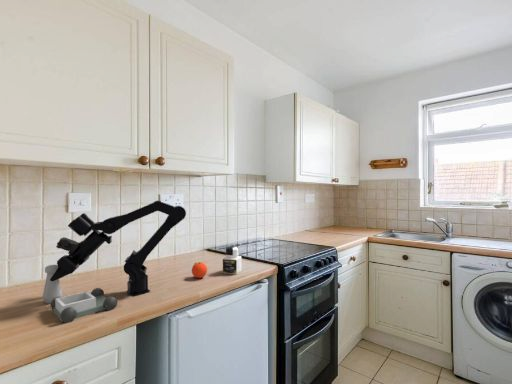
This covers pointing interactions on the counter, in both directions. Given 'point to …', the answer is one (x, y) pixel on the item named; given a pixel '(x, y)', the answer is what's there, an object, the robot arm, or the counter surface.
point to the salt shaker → (51, 285)
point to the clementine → (199, 270)
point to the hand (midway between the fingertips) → (55, 276)
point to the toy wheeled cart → (81, 304)
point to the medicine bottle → (232, 261)
